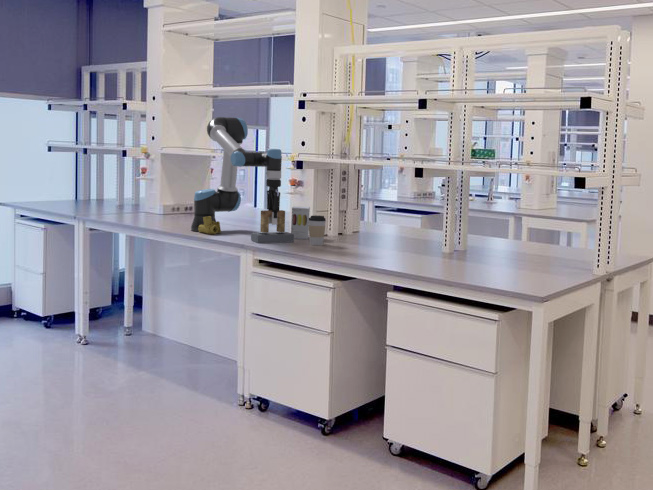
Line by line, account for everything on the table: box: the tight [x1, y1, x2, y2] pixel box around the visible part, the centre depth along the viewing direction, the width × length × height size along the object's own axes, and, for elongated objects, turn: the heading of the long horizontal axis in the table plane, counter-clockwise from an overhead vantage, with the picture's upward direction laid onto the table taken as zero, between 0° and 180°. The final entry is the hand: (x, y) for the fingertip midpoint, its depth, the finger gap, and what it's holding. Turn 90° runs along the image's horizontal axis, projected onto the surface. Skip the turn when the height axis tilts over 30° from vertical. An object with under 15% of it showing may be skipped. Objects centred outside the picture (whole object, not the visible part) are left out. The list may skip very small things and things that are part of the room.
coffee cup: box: [309, 215, 327, 246], centre depth 372 cm, size 9×9×15 cm
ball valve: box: [198, 216, 222, 235], centre depth 403 cm, size 13×10×10 cm
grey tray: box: [250, 231, 295, 244], centre depth 379 cm, size 20×10×4 cm, turn 116°
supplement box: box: [290, 205, 311, 240], centre depth 396 cm, size 10×9×17 cm
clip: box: [259, 209, 286, 233], centre depth 378 cm, size 12×4×11 cm, turn 116°
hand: (272, 223), depth 378 cm, fingers closed on clip, 4 cm apart
